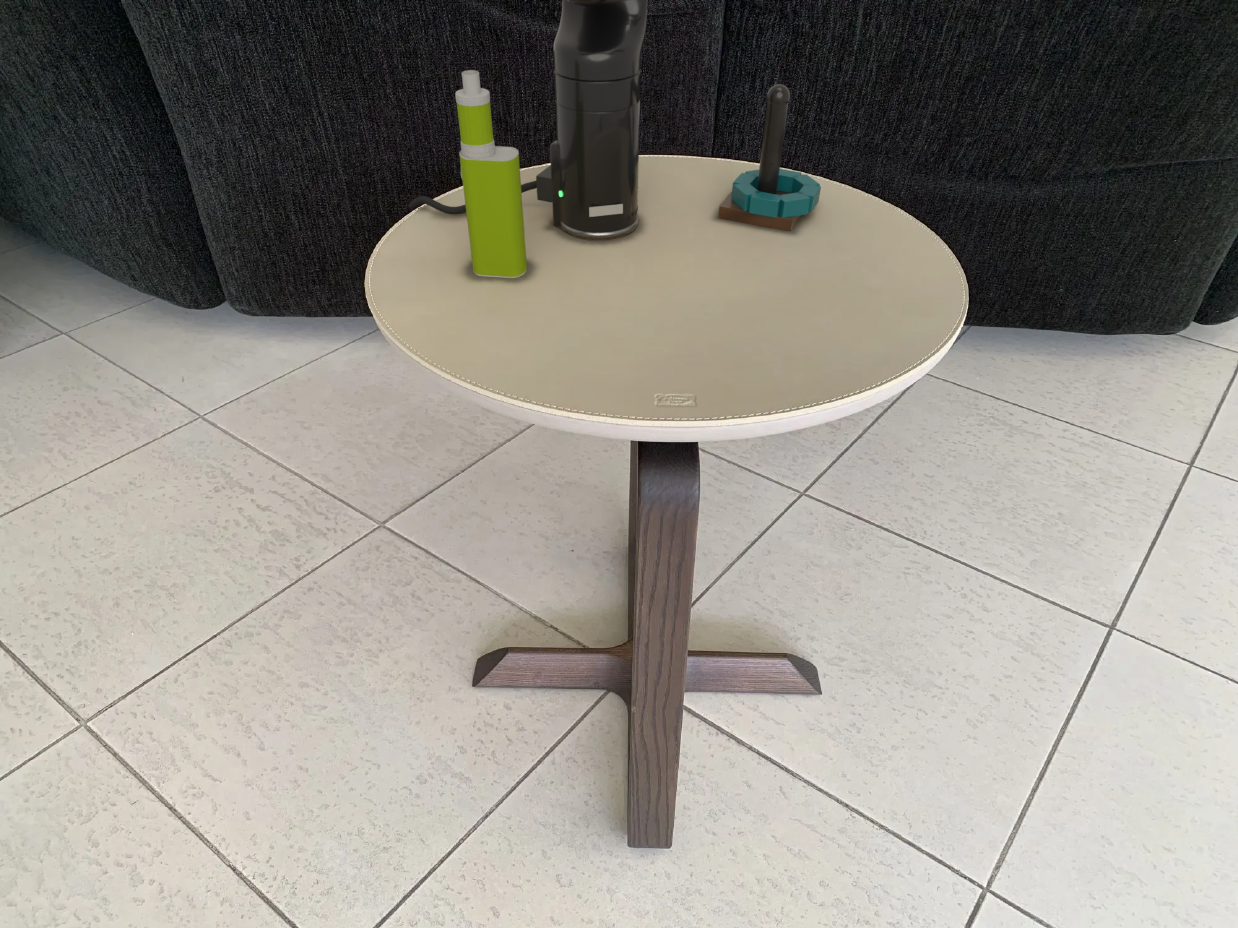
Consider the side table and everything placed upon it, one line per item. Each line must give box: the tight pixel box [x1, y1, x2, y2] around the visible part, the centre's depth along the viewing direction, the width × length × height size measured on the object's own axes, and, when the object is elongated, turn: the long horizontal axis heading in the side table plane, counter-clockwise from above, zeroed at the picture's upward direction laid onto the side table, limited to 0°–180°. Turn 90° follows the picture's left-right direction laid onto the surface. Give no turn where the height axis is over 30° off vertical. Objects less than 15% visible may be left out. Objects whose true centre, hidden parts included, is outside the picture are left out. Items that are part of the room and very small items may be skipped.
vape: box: [454, 69, 528, 279], centre depth 84 cm, size 4×6×20 cm, turn 82°
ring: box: [731, 168, 822, 218], centre depth 101 cm, size 10×10×2 cm
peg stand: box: [717, 83, 802, 232], centre depth 98 cm, size 9×9×15 cm
